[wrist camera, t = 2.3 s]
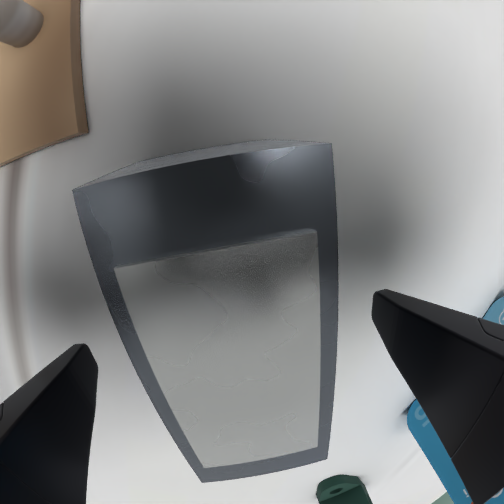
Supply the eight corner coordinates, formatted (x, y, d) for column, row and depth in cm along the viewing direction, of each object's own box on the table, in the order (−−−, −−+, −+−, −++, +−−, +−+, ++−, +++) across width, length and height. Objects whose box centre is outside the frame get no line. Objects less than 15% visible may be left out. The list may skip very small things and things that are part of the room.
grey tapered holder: (197, 374, 14) (202, 486, 8) (140, 161, 10) (69, 191, 4) (288, 358, 14) (328, 462, 8) (265, 139, 10) (334, 143, 5)
